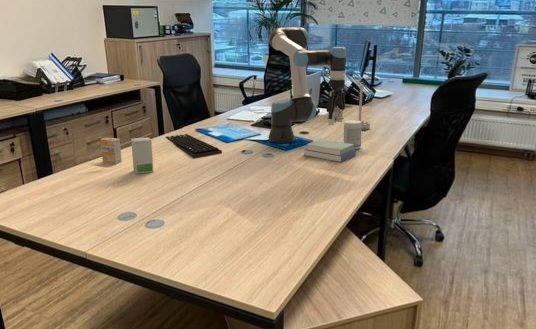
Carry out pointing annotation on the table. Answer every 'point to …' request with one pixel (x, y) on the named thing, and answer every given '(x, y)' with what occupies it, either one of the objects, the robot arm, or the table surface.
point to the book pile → (330, 150)
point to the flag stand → (367, 124)
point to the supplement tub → (353, 133)
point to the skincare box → (142, 155)
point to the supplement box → (111, 150)
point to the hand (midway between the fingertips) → (335, 123)
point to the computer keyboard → (193, 146)
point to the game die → (337, 114)
